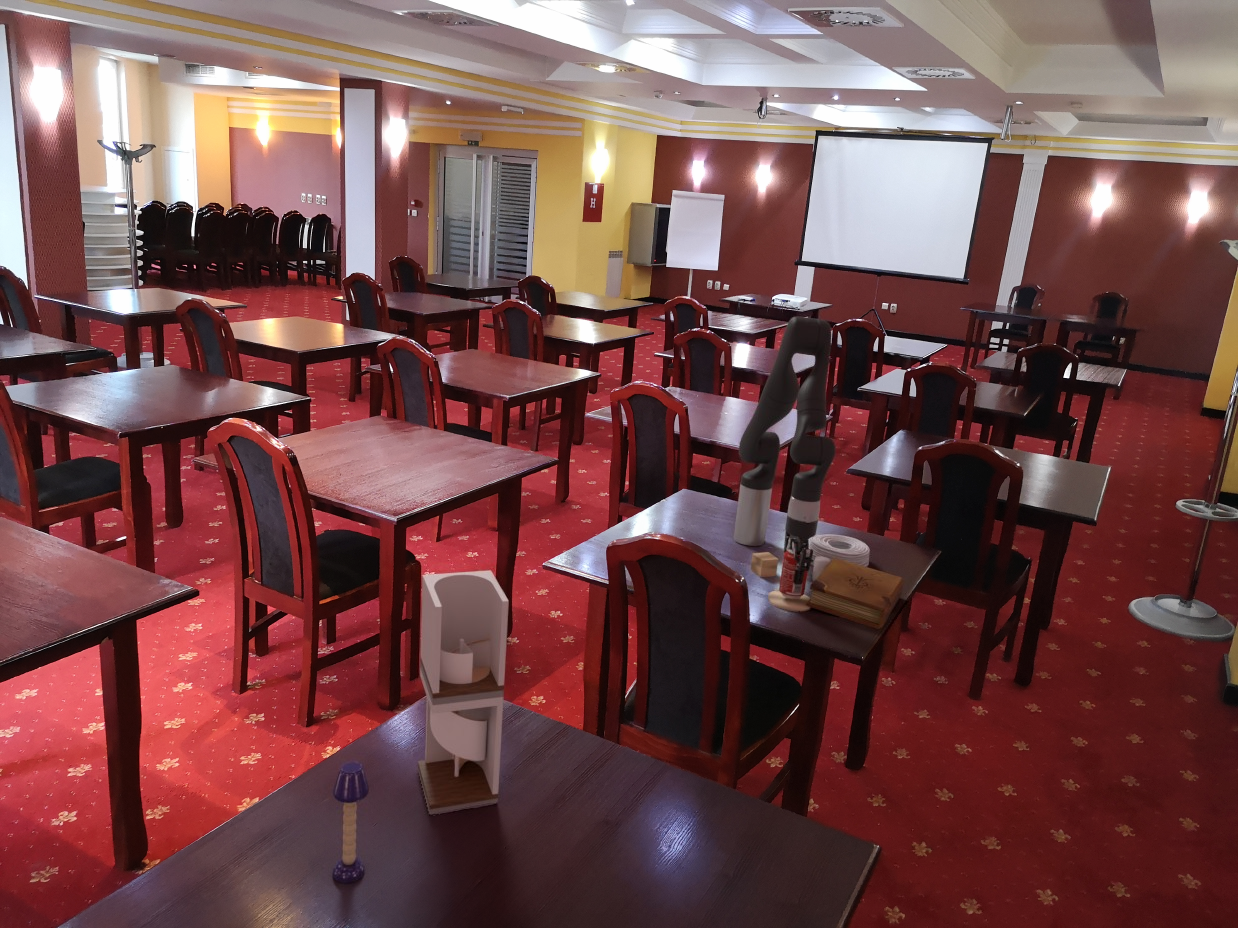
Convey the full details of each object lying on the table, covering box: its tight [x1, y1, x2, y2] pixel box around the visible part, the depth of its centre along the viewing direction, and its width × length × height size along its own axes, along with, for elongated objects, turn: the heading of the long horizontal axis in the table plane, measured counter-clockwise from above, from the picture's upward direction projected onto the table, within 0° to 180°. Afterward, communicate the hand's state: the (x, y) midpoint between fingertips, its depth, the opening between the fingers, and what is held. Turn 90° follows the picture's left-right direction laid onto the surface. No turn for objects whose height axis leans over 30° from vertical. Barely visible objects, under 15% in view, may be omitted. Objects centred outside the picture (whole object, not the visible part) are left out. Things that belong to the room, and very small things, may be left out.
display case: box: [417, 570, 509, 815], centre depth 139 cm, size 11×11×35 cm
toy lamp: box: [332, 761, 370, 884], centre depth 122 cm, size 5×5×17 cm
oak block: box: [750, 551, 779, 578], centre depth 241 cm, size 5×5×5 cm
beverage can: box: [778, 548, 809, 599], centre depth 223 cm, size 6×6×12 cm
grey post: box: [811, 556, 830, 582], centre depth 239 cm, size 4×4×6 cm
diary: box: [806, 558, 905, 630], centre depth 226 cm, size 23×19×6 cm
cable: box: [809, 533, 871, 567], centre depth 255 cm, size 18×18×6 cm
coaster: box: [767, 589, 812, 613], centre depth 225 cm, size 11×11×1 cm
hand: (793, 578), depth 223 cm, fingers closed on beverage can, 6 cm apart
